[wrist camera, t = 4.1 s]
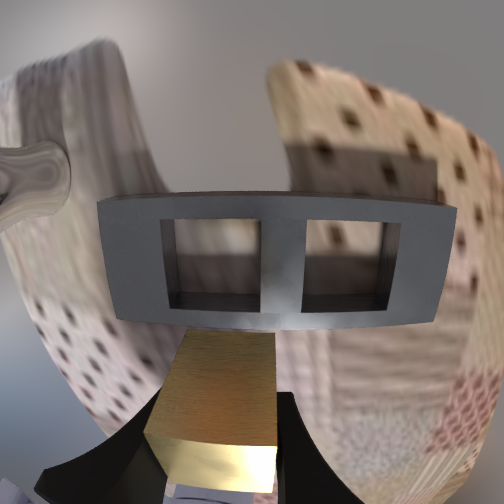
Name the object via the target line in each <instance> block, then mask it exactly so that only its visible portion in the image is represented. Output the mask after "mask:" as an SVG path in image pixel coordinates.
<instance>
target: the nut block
mask: <svg viewBox="0 0 504 504" xmlns="http://www.w3.org/2000/svg"><path fill="white" fill-rule="evenodd" d="M143 433H144V435H145V437H146V439H147V441H148V443H149V445H150V447H151V449H152V450H153V452H154V454H155V456H156V458H157V459H158V461H159V463H160V465H161V466H162V468H163V470H164V471H165V473H166V475H167V476H168V478H169V479H170V481H171V483H176V484H182V485H188V486H194V487H201V488H209V489H217V490H228V491H243V492H272V486H273V478H274V470H275V462H276V453H277V392H276V349H275V333H247V332H217V331H198V330H187V331H186V333H185V336H184V338H183V340H182V342H181V345H180V347H179V349H178V352H177V354H176V356H175V358H174V361H173V363H172V365H171V368H170V370H169V372H168V375H167V377H166V379H165V382H164V384H163V386H162V389H161V391H160V393H159V396H158V398H157V400H156V403H155V405H154V408H153V410H152V412H151V415H150V417H149V420H148V422H147V424H146V427H145V429H144V432H143Z"/></svg>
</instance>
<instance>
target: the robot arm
mask: <svg viewBox="0 0 504 504" xmlns="http://www.w3.org/2000/svg"><path fill="white" fill-rule="evenodd" d="M161 389H162V387H161V388H160V389H159V390H158V391H157V393H156V394H155V395H154V396H153V397H152V398H151V399H150V400H149V402H148V403H147V404H146V405H145V406H144V407H143V408H142V409H141V410H140V411H139V412H138V413H137V414H136V415H135V416H134V417H133V418H132V419H131V420H130V421H129V422H128V423H127V424H125V425H124V426H123V427H122V428H121V429H120V430H119V431H118V432H116V433H115V434H114V435H113V436H111V437H110V438H109V439H107V440H106V441H104V442H103V443H101V444H100V445H99V446H97V447H95V448H94V449H92V450H90V451H89V452H87V453H85V454H83V455H81V456H79V457H77V458H75V459H73V460H71V461H68V462H66V463H63V464H61V465H57V466H54V467H51V468H48V469H45V470H44V471H43V472H42V474H41V476H40V478H39V480H38V481H37V483H36V485H35V487H34V491H35V492H36V493H37V494H38V495H39V496H41V497H42V498H43V499H45V500H46V501H47V502H49V503H50V504H163V498H164V493H165V487H166V482H167V478H168V476H167V475H166V473H165V471H164V470H163V468H162V466H161V465H160V463H159V461H158V459H157V458H156V456H155V454H154V452H153V450H152V449H151V447H150V445H149V443H148V441H147V439H146V437H145V435H144V433H143V432H144V429H145V427H146V424H147V422H148V420H149V417H150V415H151V412H152V410H153V408H154V405H155V403H156V400H157V398H158V396H159V393H160V391H161ZM276 469H277V480H278V504H365V503H363V502H362V501H361V500H360V499H359V498H358V497H357V496H356V495H355V494H354V493H352V492H351V490H350V489H349V488H348V487H347V486H346V485H345V484H344V483H343V482H342V481H341V480H340V479H339V478H338V476H337V475H336V474H335V473H334V471H333V470H332V469H331V468H330V466H329V465H328V464H327V462H326V461H325V459H324V458H323V457H322V455H321V454H320V452H319V450H318V449H317V447H316V445H315V444H314V442H313V440H312V438H311V437H310V435H309V433H308V431H307V429H306V427H305V425H304V423H303V421H302V418H301V416H300V413H299V411H298V408H297V405H296V402H295V399H294V395H293V393H292V392H277V453H276ZM253 497H254V492H243V491H228V490H217V489H209V488H201V487H194V486H188V485H182V484H176V488H175V491H174V495H173V498H171V497H169V499H168V502H167V504H253ZM0 504H39V503H38V502H36V501H34V500H33V499H32V498H30V497H29V496H28V495H27V494H25V493H24V492H23V491H22V490H20V489H19V488H18V487H16V486H15V485H14V484H12V483H11V482H10V481H8V480H7V479H6V478H3V479H2V481H1V483H0Z"/></svg>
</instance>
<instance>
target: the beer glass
mask: <svg viewBox="0 0 504 504" xmlns="http://www.w3.org/2000/svg"><path fill="white" fill-rule="evenodd" d="M70 178H71V177H70V166H69V162H68V159H67V156H66V154H65V152H64V150H63V149H62V148H61V147H60V146H59V145H58V144H57V143H55V142H53V141H41V142H37V143H34V144H31V145H28V146H24V147H3V146H0V233H1V232H3V231H4V230H6V229H7V228H9V227H10V226H12V225H13V224H15V223H17V222H20V221H22V220H25V219H28V218H35V217H48V216H52V215H54V214H55V213H57V212H58V211H59V210H60V209H61V208H62V206H63V205H64V203H65V201H66V199H67V196H68V193H69V188H70Z"/></svg>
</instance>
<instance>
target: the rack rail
mask: <svg viewBox="0 0 504 504" xmlns="http://www.w3.org/2000/svg"><path fill="white" fill-rule="evenodd" d="M97 210H98V219H99V227H100V235H101V242H102V249H103V255H104V261H105V267H106V272H107V278H108V283H109V288H110V292H111V297H112V301H113V306H114V310H115V314H116V318H117V319H121V320H129V321H138V322H147V323H157V324H168V325H181V326H194V327H211V328H231V329H267V330H311V329H345V328H366V327H381V326H395V325H406V324H417V323H426V322H433V321H434V318H435V315H436V311H437V308H438V304H439V301H440V297H441V293H442V289H443V285H444V281H445V277H446V273H447V268H448V263H449V258H450V253H451V248H452V242H453V236H454V229H455V222H456V214H457V208H456V207H453V206H450V205H447V204H444V203H441V202H438V201H429V200H420V199H410V198H399V197H387V196H374V195H360V194H343V193H321V192H290V191H212V192H211V191H210V192H179V193H157V194H140V195H126V196H115V197H111V198H108V199H105V200H101V201H98V202H97ZM227 218H235V219H261V295H259V294H220V293H194V292H180V285H179V276H178V266H177V256H176V245H175V232H174V219H227ZM307 219H312V220H344V221H369V222H385V228H384V237H383V245H382V253H381V260H380V266H379V273H378V279H377V285H376V290H375V294H348V295H302V293H303V279H304V264H305V247H306V227H307Z"/></svg>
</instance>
